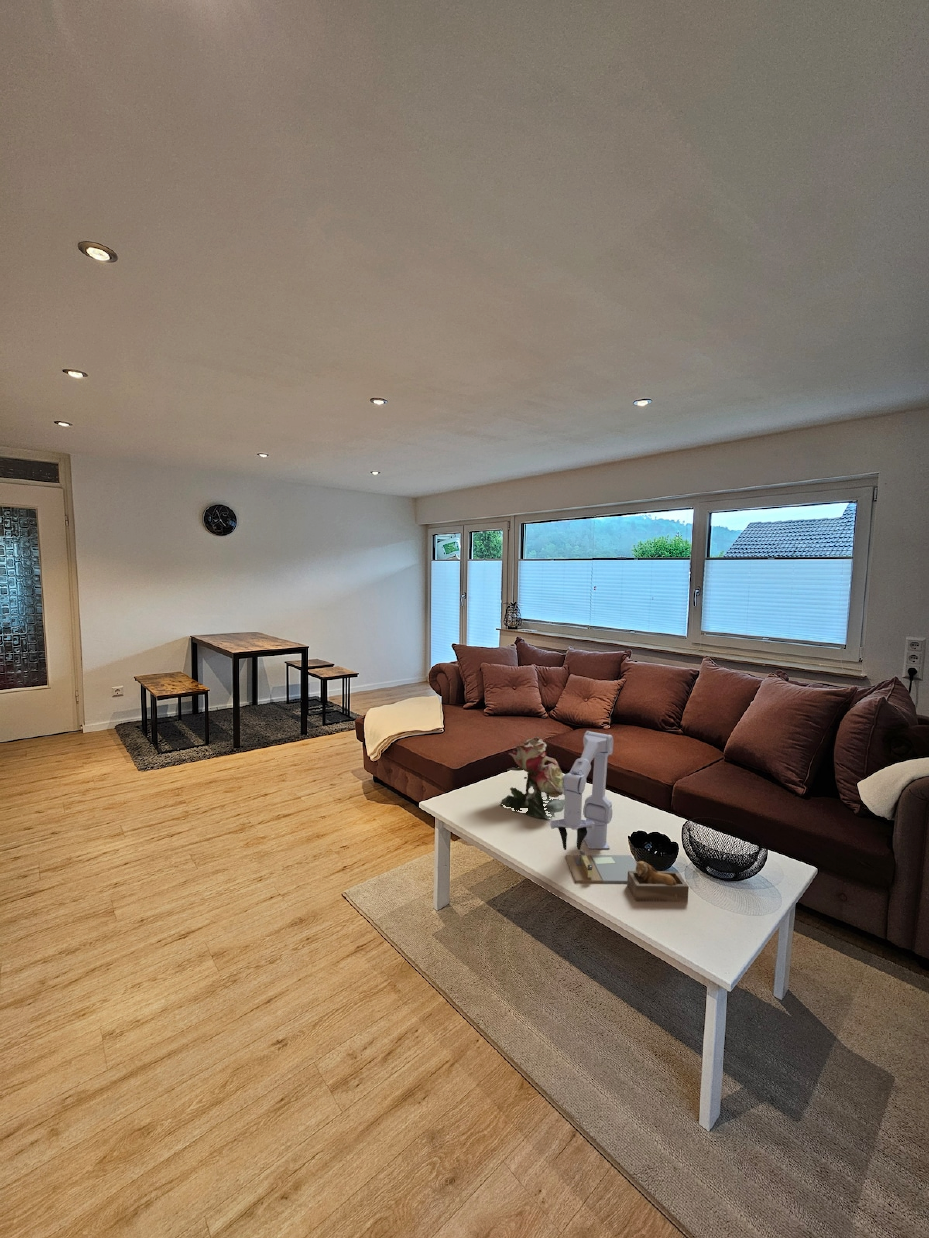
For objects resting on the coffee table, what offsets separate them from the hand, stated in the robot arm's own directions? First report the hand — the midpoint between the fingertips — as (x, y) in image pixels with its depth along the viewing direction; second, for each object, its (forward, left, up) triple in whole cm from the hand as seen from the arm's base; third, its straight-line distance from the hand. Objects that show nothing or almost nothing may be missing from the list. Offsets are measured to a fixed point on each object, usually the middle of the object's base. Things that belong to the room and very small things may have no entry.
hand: (571, 848), depth 173 cm
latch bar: (-2, +6, -8) cm, 10 cm away
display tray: (+9, +26, -10) cm, 29 cm away
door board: (-4, +13, -10) cm, 17 cm away
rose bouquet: (-56, -2, -10) cm, 57 cm away
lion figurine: (+9, +26, -10) cm, 29 cm away
